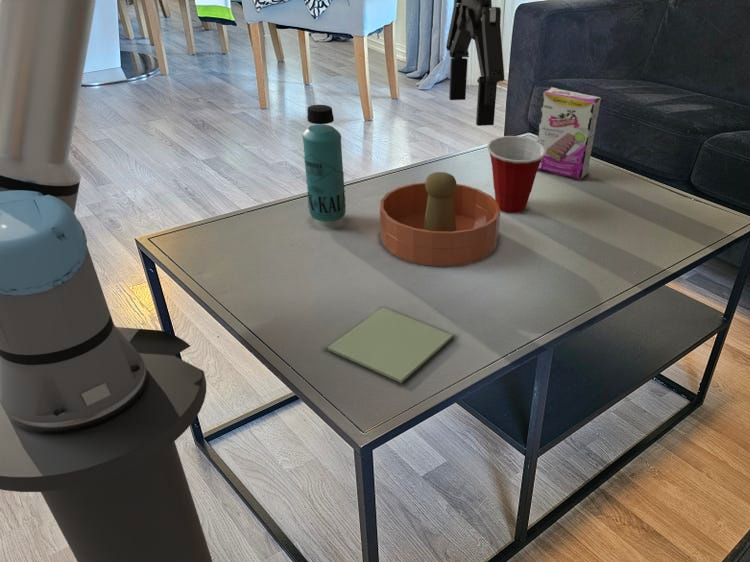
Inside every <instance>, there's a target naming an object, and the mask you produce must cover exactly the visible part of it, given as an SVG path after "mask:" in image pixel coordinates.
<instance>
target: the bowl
mask: <svg viewBox="0 0 750 562" xmlns="http://www.w3.org/2000/svg"><path fill="white" fill-rule="evenodd" d="M425 182H426V181H425ZM425 182H415V183H409V184H406V185H402V186H398V187H396V188H394V189H393V190H391V191H388V192H387V193H385V195H384V196H383V197H382V198H381V199H380V201H379V222H380V240H381V243H382V245H383V247H384V248H385V249H386V250H387V251H388V252H389V253H391V254H392V255H393V256H395V257H398V258H399V259H401V260H404V261H406V262H409V263H414V264H416V265H417V264H418V265H425V266H430V267H456V266H463V265H469V264H472V263H475V262H478V261H481V260H482V259H485V258H487V257H488V256H490V254H491V253H493V251H495V249H496V248H497V244H498V241H499V232H500V231H499V230H500V221H501V220H500V219H501V210H500V208H499V204H498V202H497V201H496V200H495V197H493V196H491V195H490V194H488V193H487V192H485V191H482V190H481V189H479V188H475V187H472V186H469V185H466V184H460V183H457V185H456V191H455V193H454V194H453V202H454V212H455V223H456V231H453V232H451V231H429V230H423V227H424V221H425V214H426V207H427V201H428V193H427V191H426V188H425Z"/></svg>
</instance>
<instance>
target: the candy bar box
mask: <svg viewBox="0 0 750 562" xmlns="http://www.w3.org/2000/svg"><path fill="white" fill-rule="evenodd" d="M541 100H542V103H541V109H540V116H539V126H538V133H537V140H536V141H538V142H539V143H541V144H542V145H544V147H545V149H546V152H545V155H544V157H543V158H542V159H541V162H540V164H539V167H538V169H537V171H541V172H545V173H549V174H553V175H556V176H557V175H558V176H562V177H567V178H570V179H575V180H579V181H581V180H583V179H584V177H585V176H587V174H589V167H590V161H591V156H592V151H593V145H594V140H595V134H596V128H597V123H598V117H599V111H600V107H601V106H600V105H601V101H602V97H600V96H596V95H591V94H586V93H581V92H576V91H571V90H567V89H562V88H557V87H552V86H551V87H550V88H548V89H547V90H544V91H543V94H542V99H541Z"/></svg>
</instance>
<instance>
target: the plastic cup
mask: <svg viewBox="0 0 750 562" xmlns="http://www.w3.org/2000/svg"><path fill="white" fill-rule="evenodd" d="M486 147H487V148H486V149H487V151H488V153H489V157H490V163H491V169H492V170H491V171H492V179H493V180H492V183H493V190H494V199H495V200H496V201H497V202H498V204H499V208H500V212H504V213H509V214H517V213H518V214H519V213H522V212H524V211H525V210H526V208H527V205H528V202H529V198H530V195H531V193H532V189H533V188H534V187H533V186H534V182H535V179H536V177H537V172H538V170H537V169H538V167H539V164H540V162H541V159H542V158H543V157H544V155H545V152H546V149H545V147H544V145H542V144H541V143H539V142H538V141H537V140H535V139H533V138H530V137H526V136H519V135H503V136H499V137H495V138H493V139H491V140H490V141H489V142H488V144H487V145H486Z"/></svg>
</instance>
